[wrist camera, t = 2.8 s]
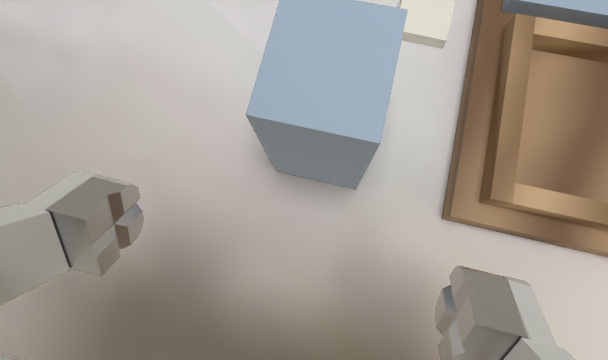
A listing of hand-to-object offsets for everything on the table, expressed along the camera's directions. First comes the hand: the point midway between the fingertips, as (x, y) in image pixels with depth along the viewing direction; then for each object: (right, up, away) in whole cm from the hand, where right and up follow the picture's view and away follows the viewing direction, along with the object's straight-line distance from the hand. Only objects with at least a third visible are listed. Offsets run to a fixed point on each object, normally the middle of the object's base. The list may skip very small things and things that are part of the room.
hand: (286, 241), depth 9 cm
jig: (+16, +6, +10) cm, 20 cm away
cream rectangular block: (+8, +12, +13) cm, 19 cm away
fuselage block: (+2, +4, +11) cm, 12 cm away
